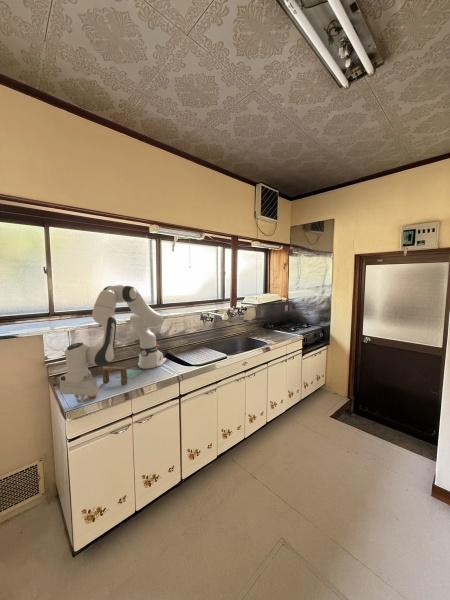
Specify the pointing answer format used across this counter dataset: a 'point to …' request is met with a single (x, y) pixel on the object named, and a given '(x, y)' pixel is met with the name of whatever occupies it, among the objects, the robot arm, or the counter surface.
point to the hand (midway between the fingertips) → (80, 402)
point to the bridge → (121, 369)
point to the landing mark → (132, 373)
